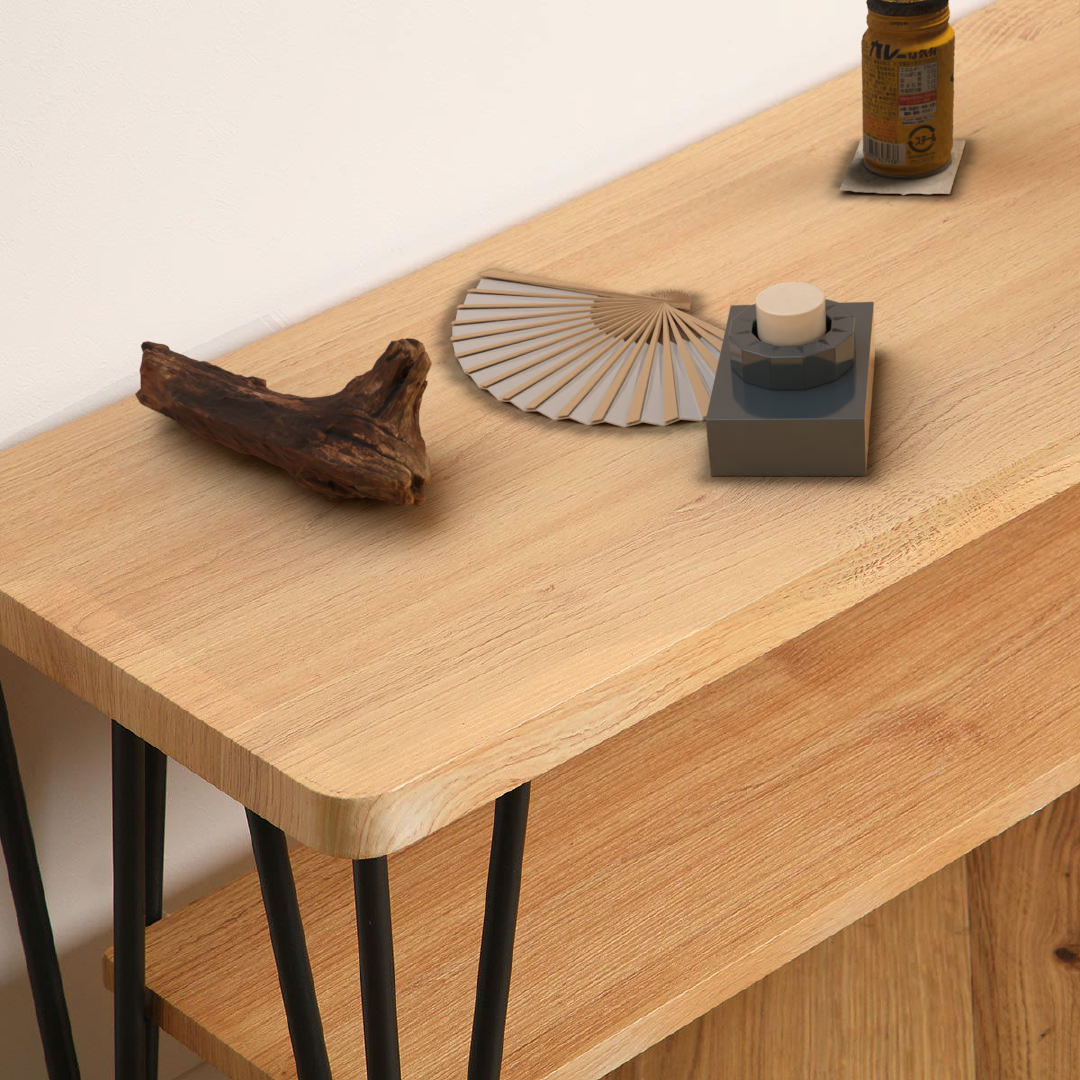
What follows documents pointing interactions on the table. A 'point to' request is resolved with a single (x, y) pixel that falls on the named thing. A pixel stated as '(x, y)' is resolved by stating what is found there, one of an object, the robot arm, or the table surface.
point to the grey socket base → (793, 398)
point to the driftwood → (307, 421)
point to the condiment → (907, 101)
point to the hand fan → (585, 351)
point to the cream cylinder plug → (791, 314)
